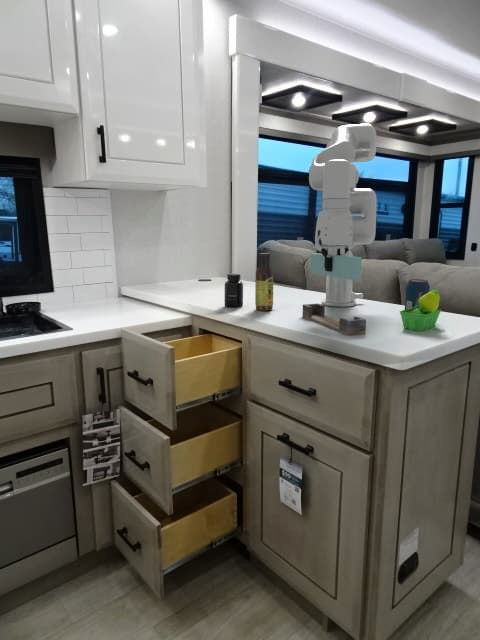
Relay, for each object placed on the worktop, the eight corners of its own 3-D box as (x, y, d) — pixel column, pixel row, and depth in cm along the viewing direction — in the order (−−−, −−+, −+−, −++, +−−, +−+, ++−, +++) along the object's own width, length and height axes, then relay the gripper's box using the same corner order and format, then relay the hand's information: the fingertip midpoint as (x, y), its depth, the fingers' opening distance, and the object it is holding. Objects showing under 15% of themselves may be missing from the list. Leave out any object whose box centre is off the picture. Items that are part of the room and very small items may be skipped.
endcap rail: (317, 315, 148) (318, 303, 147) (365, 333, 123) (366, 319, 122) (302, 316, 146) (302, 304, 145) (347, 335, 121) (348, 321, 120)
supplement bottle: (229, 309, 160) (229, 275, 158) (221, 306, 166) (220, 273, 164) (246, 307, 163) (246, 274, 161) (237, 304, 169) (237, 272, 167)
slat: (310, 272, 142) (310, 253, 140) (317, 272, 142) (317, 253, 141) (352, 280, 119) (353, 257, 118) (360, 279, 120) (361, 257, 119)
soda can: (414, 314, 148) (417, 278, 145) (432, 318, 142) (435, 280, 139) (399, 316, 144) (401, 279, 142) (416, 320, 138) (419, 282, 136)
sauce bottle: (271, 311, 154) (272, 253, 150) (253, 311, 156) (253, 253, 151) (274, 308, 161) (274, 252, 156) (257, 307, 162) (257, 252, 158)
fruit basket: (415, 322, 136) (418, 285, 134) (445, 327, 130) (448, 288, 128) (397, 328, 129) (399, 289, 126) (427, 333, 122) (430, 293, 120)
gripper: (352, 207, 133) (349, 268, 137) (304, 206, 128) (302, 270, 132) (367, 205, 126) (364, 271, 130) (316, 205, 121) (314, 273, 125)
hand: (333, 270), depth 131 cm, fingers closed on slat, 2 cm apart
